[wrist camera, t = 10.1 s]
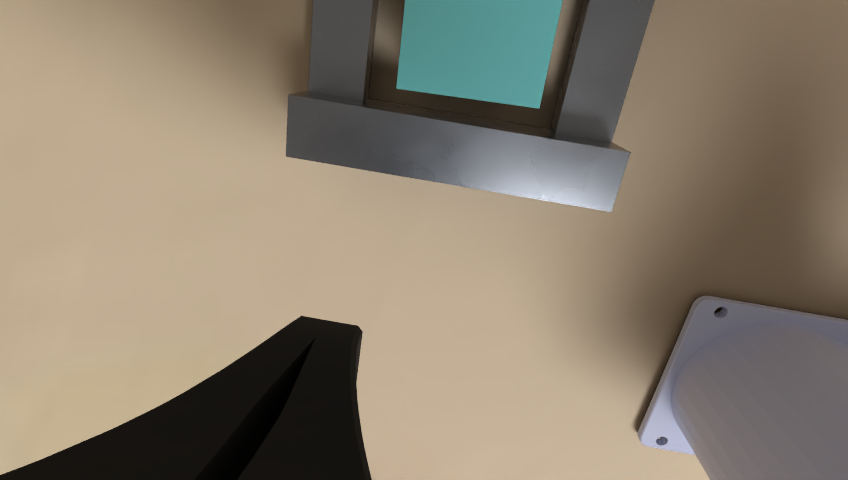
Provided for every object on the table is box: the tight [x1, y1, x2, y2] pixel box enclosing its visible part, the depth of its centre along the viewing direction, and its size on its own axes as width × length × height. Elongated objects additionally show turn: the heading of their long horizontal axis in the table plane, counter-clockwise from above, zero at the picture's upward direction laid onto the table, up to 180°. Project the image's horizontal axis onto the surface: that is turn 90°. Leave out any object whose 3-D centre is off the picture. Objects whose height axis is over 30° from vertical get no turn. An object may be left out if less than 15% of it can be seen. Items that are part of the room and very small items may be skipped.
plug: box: [396, 0, 563, 108], centre depth 13 cm, size 4×4×6 cm
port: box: [286, 0, 655, 212], centre depth 15 cm, size 11×9×3 cm
